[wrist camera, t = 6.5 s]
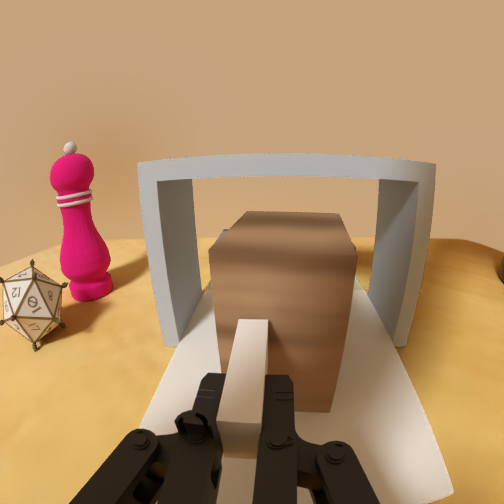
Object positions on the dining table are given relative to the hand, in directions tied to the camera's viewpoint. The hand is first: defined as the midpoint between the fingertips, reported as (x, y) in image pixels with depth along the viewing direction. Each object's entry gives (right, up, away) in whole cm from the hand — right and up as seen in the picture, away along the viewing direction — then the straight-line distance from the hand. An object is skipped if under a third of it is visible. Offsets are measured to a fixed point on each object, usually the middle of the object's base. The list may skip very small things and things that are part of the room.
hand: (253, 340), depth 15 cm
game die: (-23, -5, +10) cm, 25 cm away
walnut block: (+2, -4, +6) cm, 8 cm away
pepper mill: (-22, -1, +20) cm, 30 cm away
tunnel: (+3, -5, +6) cm, 8 cm away
